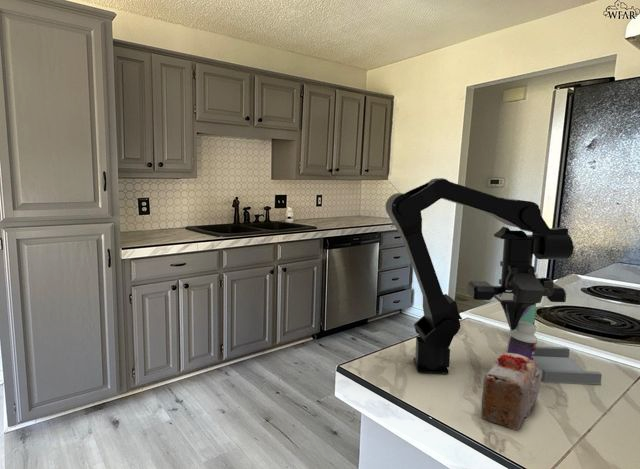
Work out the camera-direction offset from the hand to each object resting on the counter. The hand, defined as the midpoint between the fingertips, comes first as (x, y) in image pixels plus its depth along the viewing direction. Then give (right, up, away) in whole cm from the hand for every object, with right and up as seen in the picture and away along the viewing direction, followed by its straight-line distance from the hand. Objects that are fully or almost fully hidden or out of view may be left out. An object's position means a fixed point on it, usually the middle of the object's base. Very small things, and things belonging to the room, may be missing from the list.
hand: (512, 329), depth 87 cm
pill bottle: (+2, -8, +1) cm, 9 cm away
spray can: (+11, -7, +17) cm, 21 cm away
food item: (-8, -11, -15) cm, 20 cm away
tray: (+10, -9, 0) cm, 13 cm away
